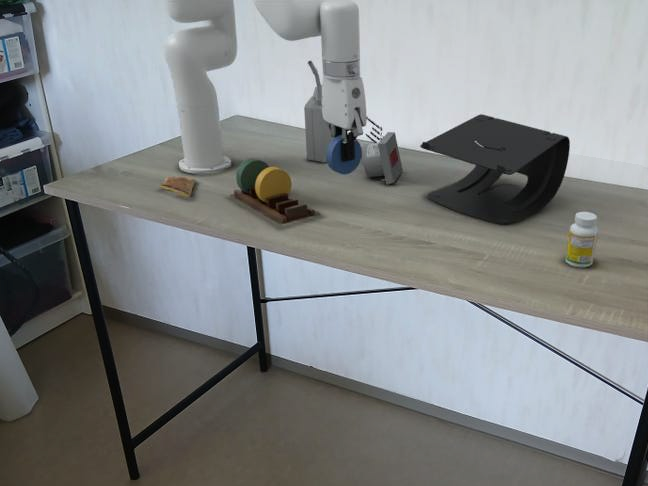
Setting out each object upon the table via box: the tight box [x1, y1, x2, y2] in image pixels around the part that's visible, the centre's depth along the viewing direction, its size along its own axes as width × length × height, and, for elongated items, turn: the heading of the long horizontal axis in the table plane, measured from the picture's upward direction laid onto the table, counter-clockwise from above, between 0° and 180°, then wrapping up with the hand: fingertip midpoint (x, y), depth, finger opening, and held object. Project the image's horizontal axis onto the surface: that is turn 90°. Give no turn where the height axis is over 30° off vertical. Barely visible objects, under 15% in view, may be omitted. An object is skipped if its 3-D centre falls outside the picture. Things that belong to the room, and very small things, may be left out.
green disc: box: [235, 157, 270, 194], centre depth 166 cm, size 2×8×8 cm, turn 131°
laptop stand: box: [419, 113, 571, 225], centre depth 168 cm, size 26×24×16 cm
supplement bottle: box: [565, 211, 599, 268], centre depth 142 cm, size 5×5×10 cm
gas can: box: [303, 60, 333, 164], centre depth 188 cm, size 15×5×25 cm, turn 155°
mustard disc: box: [255, 166, 293, 203], centre depth 162 cm, size 2×8×8 cm, turn 131°
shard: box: [159, 176, 196, 198], centre depth 170 cm, size 11×8×2 cm
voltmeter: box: [361, 115, 403, 186], centre depth 185 cm, size 27×11×10 cm, turn 23°
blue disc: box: [326, 135, 362, 175], centre depth 159 cm, size 2×8×8 cm, turn 131°
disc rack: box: [229, 186, 321, 226], centre depth 164 cm, size 22×10×3 cm, turn 41°
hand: (344, 158), depth 159 cm, fingers closed on blue disc, 2 cm apart
